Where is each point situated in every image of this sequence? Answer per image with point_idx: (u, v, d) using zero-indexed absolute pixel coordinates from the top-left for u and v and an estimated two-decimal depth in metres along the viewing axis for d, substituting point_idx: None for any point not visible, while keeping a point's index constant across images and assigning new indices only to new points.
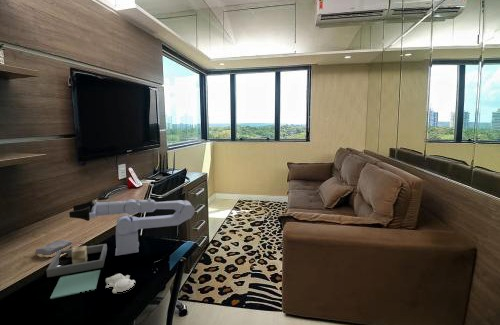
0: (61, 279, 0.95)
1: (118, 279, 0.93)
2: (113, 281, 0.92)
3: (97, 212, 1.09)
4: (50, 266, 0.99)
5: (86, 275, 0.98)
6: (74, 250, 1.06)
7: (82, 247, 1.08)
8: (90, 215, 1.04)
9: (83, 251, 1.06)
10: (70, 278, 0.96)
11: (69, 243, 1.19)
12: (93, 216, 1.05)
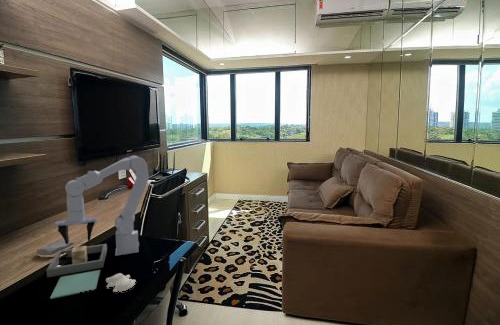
0: (61, 279, 0.95)
1: (119, 279, 0.93)
2: (114, 281, 0.92)
3: (84, 217, 1.07)
4: (50, 266, 0.99)
5: (86, 275, 0.98)
6: (74, 250, 1.06)
7: (82, 247, 1.08)
8: (97, 221, 1.08)
9: (83, 251, 1.06)
10: (70, 278, 0.96)
11: (70, 243, 1.19)
12: (97, 218, 1.09)
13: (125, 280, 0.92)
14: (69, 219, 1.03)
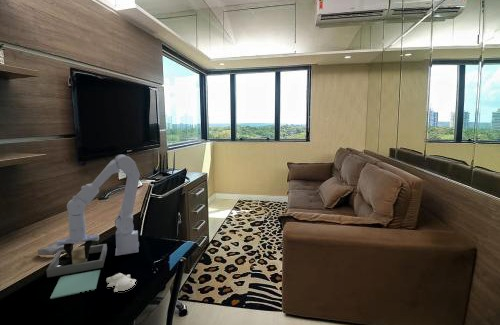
0: (61, 279, 0.95)
1: (119, 278, 0.93)
2: (114, 281, 0.92)
3: (86, 235, 1.08)
4: (50, 266, 0.99)
5: (86, 275, 0.98)
6: (74, 250, 1.06)
7: (82, 247, 1.08)
8: (98, 239, 1.09)
9: (83, 251, 1.06)
10: (70, 278, 0.96)
11: None
12: (98, 236, 1.10)
13: (126, 280, 0.92)
14: (71, 238, 1.04)
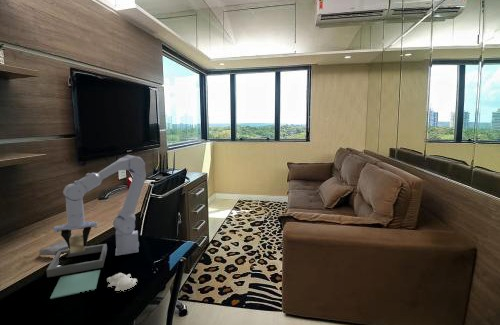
0: (61, 279, 0.95)
1: (120, 278, 0.94)
2: (115, 280, 0.93)
3: (84, 222, 1.04)
4: (50, 266, 0.99)
5: (86, 275, 0.98)
6: (72, 237, 1.02)
7: (80, 234, 1.04)
8: (97, 225, 1.06)
9: (81, 238, 1.02)
10: (70, 278, 0.96)
11: None
12: (97, 223, 1.06)
13: (127, 279, 0.92)
14: (68, 224, 1.00)
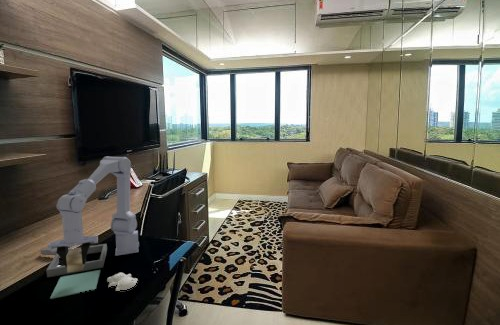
0: (61, 279, 0.95)
1: (120, 278, 0.94)
2: (115, 280, 0.93)
3: (83, 237, 0.93)
4: (50, 266, 0.99)
5: (86, 275, 0.98)
6: (69, 254, 0.91)
7: (79, 250, 0.93)
8: (97, 241, 0.94)
9: (80, 255, 0.91)
10: (70, 278, 0.96)
11: None
12: (97, 237, 0.94)
13: (127, 279, 0.92)
14: (65, 239, 0.88)
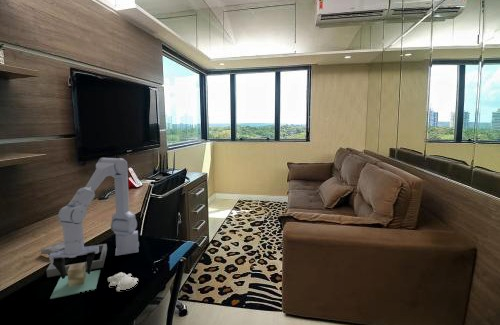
0: (61, 279, 0.95)
1: (121, 277, 0.94)
2: (116, 280, 0.93)
3: (84, 247, 0.93)
4: (50, 266, 0.99)
5: (86, 275, 0.98)
6: (71, 268, 0.91)
7: (80, 265, 0.94)
8: (98, 251, 0.95)
9: (81, 269, 0.92)
10: None
11: None
12: (98, 248, 0.95)
13: (128, 278, 0.93)
14: (66, 250, 0.89)
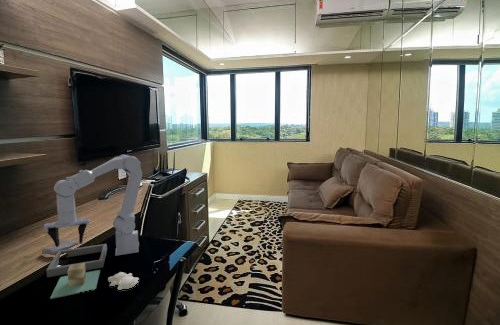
0: (61, 279, 0.95)
1: (122, 277, 0.94)
2: (117, 279, 0.93)
3: (76, 219, 1.02)
4: (50, 266, 0.99)
5: (86, 275, 0.98)
6: (71, 268, 0.91)
7: (80, 265, 0.94)
8: (89, 223, 1.03)
9: (81, 269, 0.92)
10: None
11: (75, 244, 1.19)
12: (89, 220, 1.04)
13: (129, 278, 0.93)
14: (59, 221, 0.98)
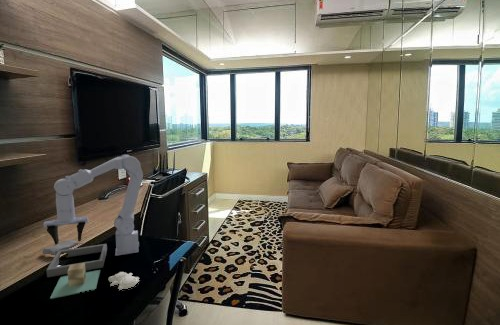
0: (61, 279, 0.95)
1: (122, 277, 0.94)
2: (117, 279, 0.93)
3: (75, 217, 1.04)
4: (50, 266, 0.99)
5: (86, 275, 0.98)
6: (71, 268, 0.91)
7: (80, 265, 0.94)
8: None
9: (81, 269, 0.92)
10: None
11: (75, 244, 1.19)
12: None
13: (129, 278, 0.93)
14: (58, 219, 1.00)
